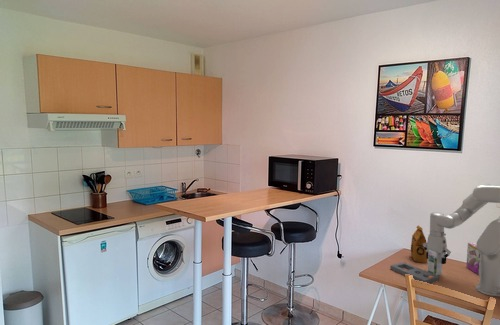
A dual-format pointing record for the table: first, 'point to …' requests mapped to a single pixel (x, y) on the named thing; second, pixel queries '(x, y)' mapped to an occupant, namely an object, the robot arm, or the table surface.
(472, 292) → the table surface
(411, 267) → the gray compartment tray
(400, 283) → the table surface
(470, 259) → the candy bar box
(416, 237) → the coffee package
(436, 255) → the syrup box
